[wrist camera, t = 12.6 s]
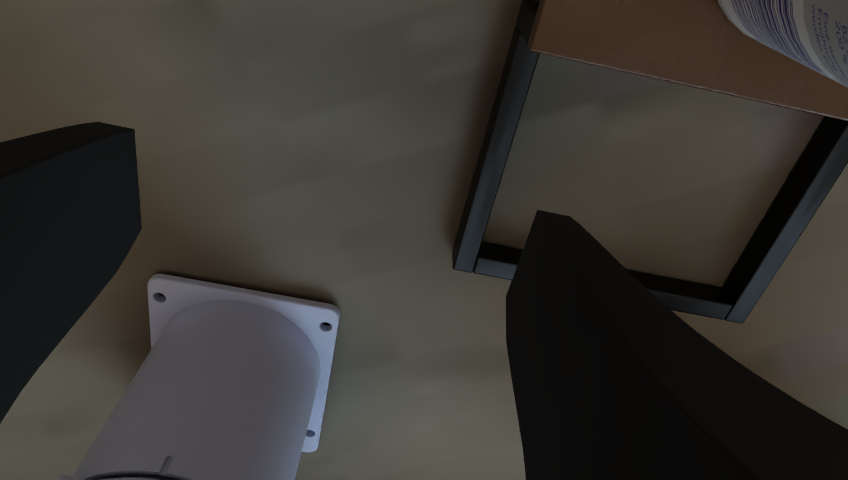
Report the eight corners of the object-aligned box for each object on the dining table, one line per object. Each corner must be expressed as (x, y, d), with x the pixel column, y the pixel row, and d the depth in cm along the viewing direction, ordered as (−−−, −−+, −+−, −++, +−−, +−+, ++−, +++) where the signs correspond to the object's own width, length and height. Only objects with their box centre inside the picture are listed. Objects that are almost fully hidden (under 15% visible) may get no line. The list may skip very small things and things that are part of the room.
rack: (730, 305, 24) (787, 389, 20) (451, 252, 23) (453, 329, 19) (1068, -235, 15) (1297, -276, 11) (622, -362, 14) (695, -461, 10)
